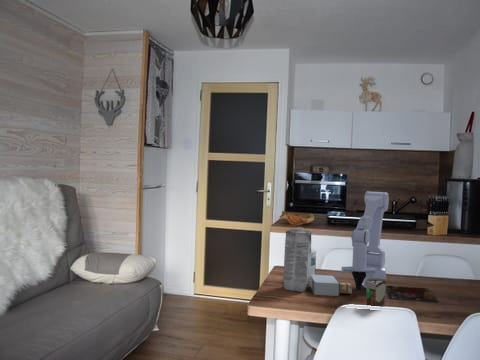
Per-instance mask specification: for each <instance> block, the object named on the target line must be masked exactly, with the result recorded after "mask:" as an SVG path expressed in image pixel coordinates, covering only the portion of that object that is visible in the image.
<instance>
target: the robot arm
mask: <svg viewBox="0 0 480 360" xmlns="http://www.w3.org/2000/svg"><path fill="white" fill-rule="evenodd" d="M389 196H390V195H389V193H388V192H383V191H370V190H367V191H366V192H365V193H364V197H363V198H364V204H365V210H364V213H363V215H362V216H360V217H359V219H358V222H357V226H356V228H355V229H354V230H352V233H351V245H352V246H351V247H352V264H351V265H352V266H341V269H340V270H341V272H342V273H351V276H352V277H353V280H354V284H355V290H357V291H361V289H362V286H363V288H365V289H366V286H365V281H366V280H367V279H369V278H381V279H387V272H386V271H387V270H386V268H384V267H385V263H386V253H385V251H384V250H383V249H382V247H380V244H381V236H382V227H383V220H384V214H385V212H387V211H388V209H389V203H390V202H389V201H390V197H389Z"/></svg>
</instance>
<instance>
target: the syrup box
mask: <svg viewBox="0 0 480 360" xmlns="http://www.w3.org/2000/svg"><path fill="white" fill-rule="evenodd" d="M316 261H317V251H316V250H315V249H311V262H310V278H311V275H316V266H317V264H316V263H317V262H316ZM309 283H310V281H309Z"/></svg>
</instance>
